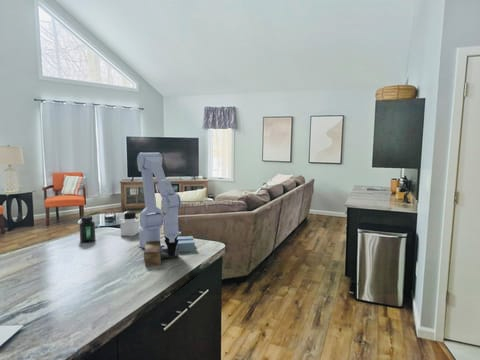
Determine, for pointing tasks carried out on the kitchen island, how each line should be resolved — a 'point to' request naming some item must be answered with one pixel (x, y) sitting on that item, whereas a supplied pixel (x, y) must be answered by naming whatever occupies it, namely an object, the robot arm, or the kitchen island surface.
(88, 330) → the kitchen island surface
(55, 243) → the kitchen island surface
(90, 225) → the supplement bottle
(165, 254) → the axle
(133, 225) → the medicine bottle
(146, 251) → the beam
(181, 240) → the v block
